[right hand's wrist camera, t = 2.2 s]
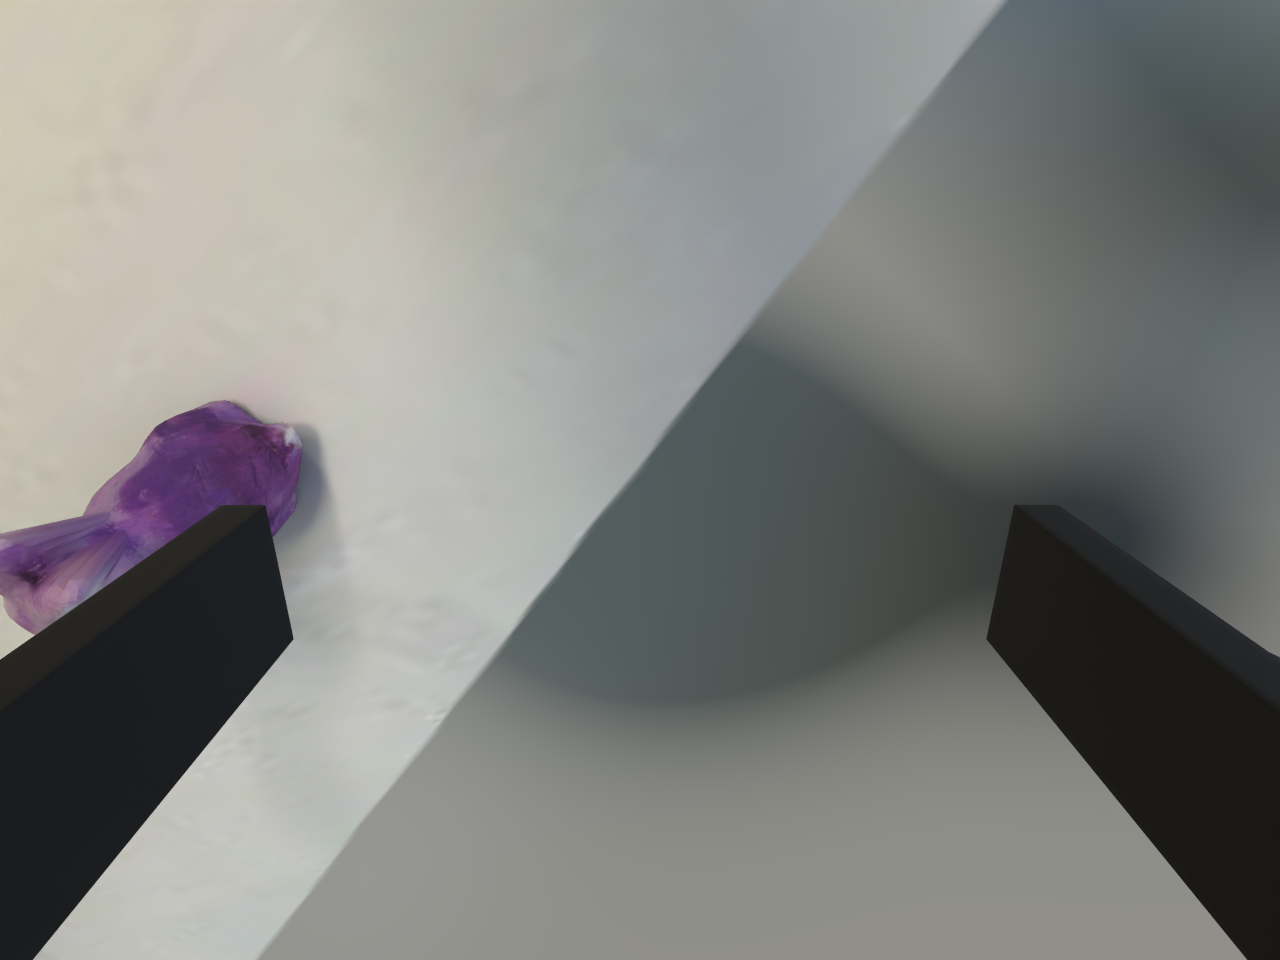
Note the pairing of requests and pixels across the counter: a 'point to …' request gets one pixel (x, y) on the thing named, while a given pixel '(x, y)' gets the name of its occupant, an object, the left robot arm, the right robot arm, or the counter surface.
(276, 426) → the figurine
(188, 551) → the right robot arm
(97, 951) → the counter surface
